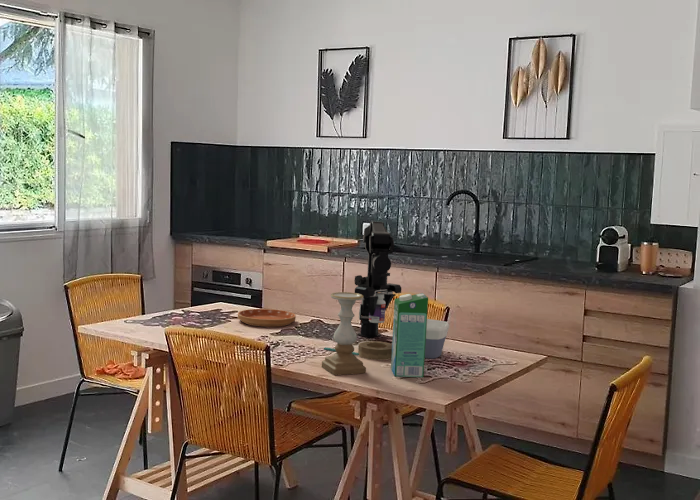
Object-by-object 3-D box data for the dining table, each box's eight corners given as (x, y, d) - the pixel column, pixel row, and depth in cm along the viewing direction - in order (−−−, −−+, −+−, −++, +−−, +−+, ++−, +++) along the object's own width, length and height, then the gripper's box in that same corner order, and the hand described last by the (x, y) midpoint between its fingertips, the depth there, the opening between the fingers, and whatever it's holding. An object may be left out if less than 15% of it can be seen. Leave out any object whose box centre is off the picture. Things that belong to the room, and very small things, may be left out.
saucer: (264, 315, 337) (264, 306, 337) (307, 323, 324) (307, 314, 323) (225, 322, 319) (225, 312, 318) (269, 331, 305) (269, 321, 305)
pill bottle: (383, 323, 275) (384, 295, 274) (367, 322, 276) (369, 294, 275) (385, 321, 280) (387, 293, 279) (370, 320, 281) (371, 292, 280)
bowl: (450, 352, 284) (452, 321, 283) (441, 362, 270) (443, 329, 268) (408, 347, 289) (410, 316, 288) (396, 356, 275) (398, 324, 273)
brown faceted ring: (374, 349, 283) (374, 339, 282) (401, 356, 275) (401, 346, 274) (351, 354, 274) (351, 344, 273) (378, 361, 266) (379, 351, 265)
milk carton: (390, 369, 257) (394, 291, 254) (418, 369, 258) (423, 292, 255) (394, 376, 248) (399, 296, 245) (423, 377, 249) (428, 297, 246)
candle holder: (333, 375, 246) (337, 298, 243) (320, 366, 256) (324, 292, 253) (366, 373, 250) (370, 297, 248) (352, 364, 260) (356, 291, 258)
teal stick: (361, 355, 274) (361, 353, 274) (360, 355, 273) (360, 353, 273) (325, 349, 280) (325, 347, 280) (324, 349, 279) (324, 347, 279)
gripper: (378, 265, 288) (376, 309, 290) (343, 268, 275) (341, 313, 276) (403, 269, 281) (401, 313, 282) (368, 271, 267) (366, 318, 269)
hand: (377, 314), depth 277 cm, fingers closed on pill bottle, 5 cm apart
